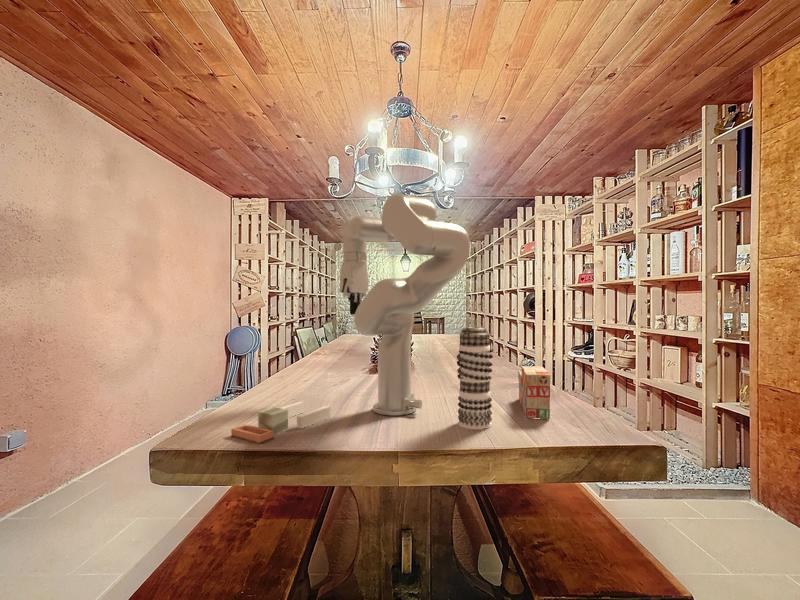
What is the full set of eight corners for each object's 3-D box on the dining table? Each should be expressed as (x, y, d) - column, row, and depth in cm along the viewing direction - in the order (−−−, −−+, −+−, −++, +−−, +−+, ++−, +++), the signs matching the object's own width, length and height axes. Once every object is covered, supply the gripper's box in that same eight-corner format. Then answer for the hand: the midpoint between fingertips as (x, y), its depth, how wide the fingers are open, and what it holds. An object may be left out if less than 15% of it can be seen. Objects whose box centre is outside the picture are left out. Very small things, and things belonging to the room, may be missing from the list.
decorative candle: (499, 428, 104) (498, 328, 104) (463, 431, 103) (462, 329, 102) (485, 418, 113) (485, 325, 113) (452, 420, 112) (452, 326, 111)
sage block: (288, 429, 105) (287, 409, 105) (272, 435, 101) (272, 414, 101) (274, 426, 108) (273, 407, 108) (258, 432, 104) (258, 411, 104)
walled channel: (330, 417, 115) (330, 406, 115) (301, 428, 105) (301, 417, 105) (300, 411, 121) (300, 401, 121) (270, 422, 111) (270, 410, 111)
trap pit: (273, 438, 99) (273, 431, 98) (260, 443, 95) (259, 436, 95) (245, 431, 104) (245, 424, 104) (231, 436, 100) (231, 428, 100)
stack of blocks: (518, 399, 134) (518, 360, 133) (538, 400, 132) (538, 361, 132) (526, 419, 113) (525, 373, 112) (550, 420, 111) (550, 374, 111)
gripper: (359, 260, 147) (359, 313, 147) (331, 257, 134) (331, 315, 134) (376, 259, 143) (377, 313, 143) (349, 256, 130) (350, 315, 130)
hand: (355, 314), depth 139 cm, fingers closed
